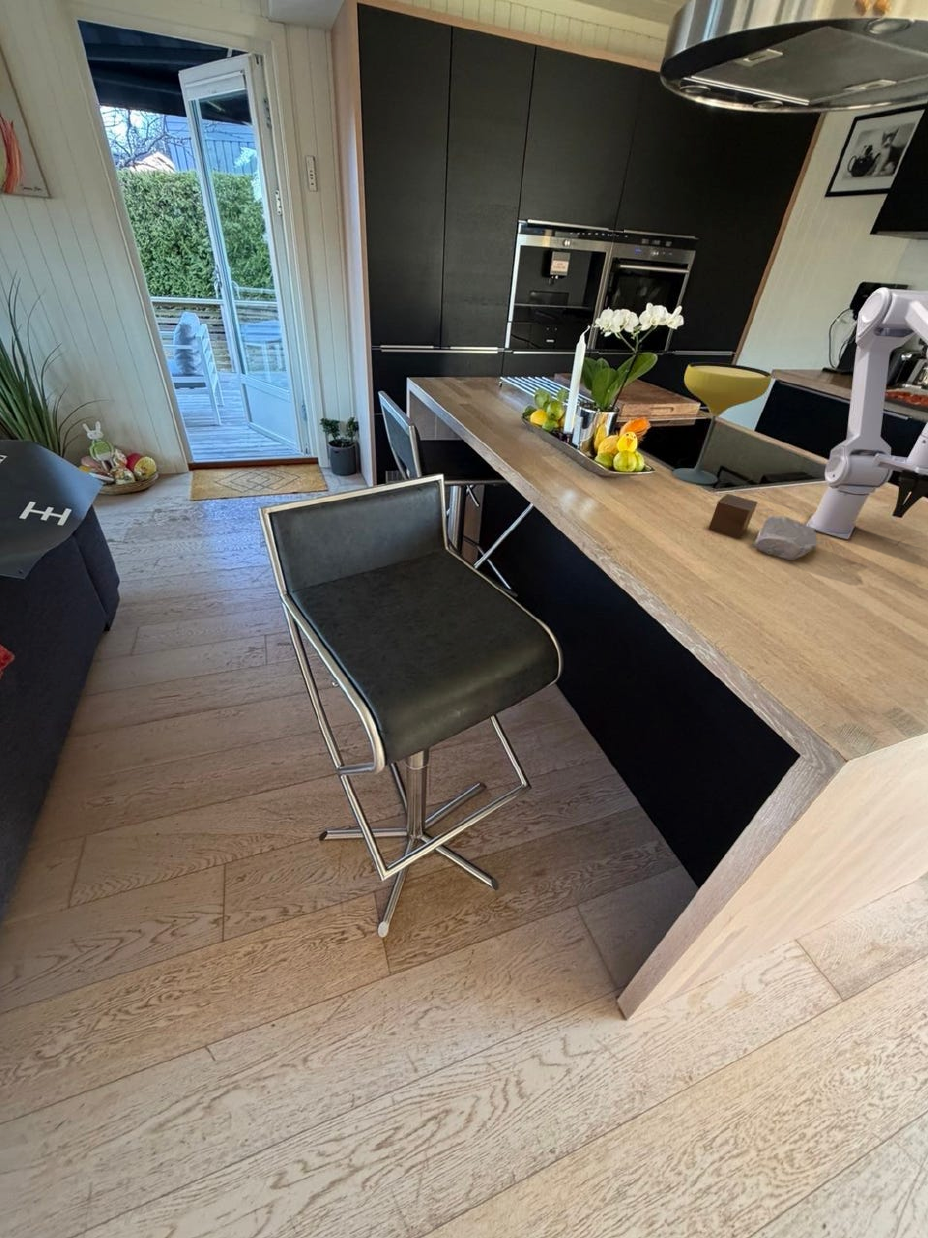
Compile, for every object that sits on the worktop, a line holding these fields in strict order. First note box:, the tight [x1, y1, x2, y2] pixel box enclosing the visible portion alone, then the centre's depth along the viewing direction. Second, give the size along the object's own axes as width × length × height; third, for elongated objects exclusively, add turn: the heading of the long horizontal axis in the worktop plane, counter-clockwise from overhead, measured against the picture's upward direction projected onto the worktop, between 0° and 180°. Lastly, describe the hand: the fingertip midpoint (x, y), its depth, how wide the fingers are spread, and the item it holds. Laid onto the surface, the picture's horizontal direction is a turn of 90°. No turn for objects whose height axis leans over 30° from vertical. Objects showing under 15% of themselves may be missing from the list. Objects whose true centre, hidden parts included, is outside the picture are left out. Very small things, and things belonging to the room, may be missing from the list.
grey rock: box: [753, 515, 818, 561], centre depth 101 cm, size 12×5×10 cm
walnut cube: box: [708, 493, 758, 539], centre depth 105 cm, size 6×6×6 cm
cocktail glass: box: [672, 361, 773, 486], centre depth 125 cm, size 18×18×25 cm
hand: (897, 515), depth 93 cm, fingers closed
